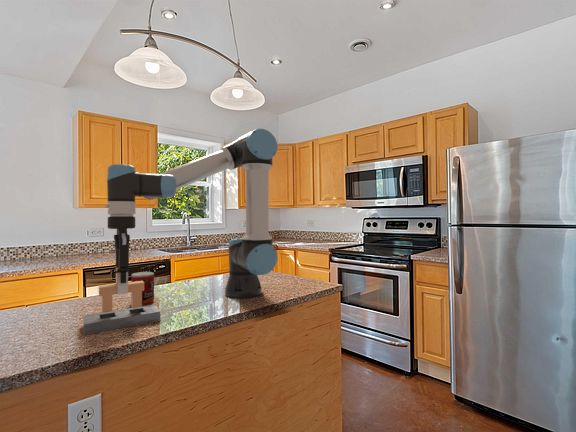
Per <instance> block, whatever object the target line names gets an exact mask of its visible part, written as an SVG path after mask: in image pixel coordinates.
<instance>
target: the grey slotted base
mask: <svg viewBox="0 0 576 432" xmlns="http://www.w3.org/2000/svg"><path fill="white" fill-rule="evenodd" d="M157 322H161V310H160V309H159V308H158V307H157V306H156V304H154V303H153V304H150V305H149V304H147V305H142V307H138V308H132V307H129V308H124V309H118V310H112V312H106V313H102V312H98V313H91V314H85V315H83V336H86V335H93V334H98V333H103V332H107V331H113V330H119V329H123V328H130V327H134V326H141V325H145V324H151V323H157Z"/></svg>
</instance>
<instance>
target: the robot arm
mask: <svg viewBox="0 0 576 432" xmlns="http://www.w3.org/2000/svg"><path fill="white" fill-rule="evenodd" d="M278 145H279V144H278V140H277V139H276V137H275V136H274V135H273V133H272V132H271V131H269V130H268V129H265V128H257V129H256V128H255V129H252V130H250V131H249V132H248V133H246V134H244V135H242V136H240V137H239V138H237V139H235V140H234V141H233V142H231V143H229V144H228V145H225V146H223V147H221V148H220V150H218V151H216V152H214V153H212V154H208V155H206V156H203V157H200V158H197V159H196V160H192V161H189V162H187V163H185V164H181V165H179V166H176V167H173V168H171V169H168V170H166V171H163V172H160V173H144V172H143V173H142V172H138V171H137V172H136V168H135V166H134V165H131V164H123V163H120V164H119V163H117V164H116V163H115V164H110V165H108V167H107V180H106V183H107V184H106V185H107V186H106V187H107V188H106V189H107V190H106V191H107V192H106V193H107V204H104V205H105V208H107V215H109V216H108V217H107V228H108V229H109V230H116V234H113V240H114V248H115V263H114V264H115V265H114V266H115V268H116V267H118V271H116V270H115V274H116V273H118V294H117V295H124V294H129V293H128V282H129V271H130V267H129V266H130V256H129V255H130V239H131V238H130V237H131V236H130V234H128V230H129V229H135V228H136V217H135V216H134V215H136V197H138V198H139V197H140V198H141V197H143V198H144V199H146V200H149V201H150V200H151V201H153V200H155V199H158V198H164V199H167V198H173V197H175V195H176V192H177V190H178V189H182V188H185V187H186V186H189V185H192V184H193V183H196V182H198V181H201V180H204V179H206V178H208V177H211V176H214V175H216V174H218V173H220V172H223V171H226V170H230V171H232V170H235V169H238V168H241V167H242V168H243V169H244V171H245V234H244V235H243V236H242V237H241V238H233V239H230V240H229V243H228V268H229V269H228V271H229V272H228V278H227V281H226V285H225V287H224V294H225V296H226V297H229V298H235V299H245V298H246V299H247V298H253V297H258V296H260V295H261V294H262V293H263V292H262V290H263V289H262V288H263V287H262V285H261V282H260V279H259V278H260V277H258V276H265V275H267V274H269V273H271V272H272V271H273V270H274V269H275V267H276V266H277V264H278V258H279V257H278V256H279V255H278V252H277V250H276V248H275V247H274V246H273V242H274V241H273V237H272V236H271V235H270V233H269V231H270V230H269V222H270V221H269V217H270V216H269V205H270V204H269V203H270V202H269V201H270V200H269V171H270V170H271V169H272V168H273V158H274V157H275V156H276V154H277V152H278V149H279V148H278Z"/></svg>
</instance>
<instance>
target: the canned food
mask: <svg viewBox="0 0 576 432" xmlns="http://www.w3.org/2000/svg"><path fill="white" fill-rule="evenodd" d="M130 277H131V279H130V282H135V281H143V282H144V291H142V306H148V305H149V304H150V305H151V304H152V303H154V301H155V273H154V272H152V271H140V272H133V273H131V276H130Z"/></svg>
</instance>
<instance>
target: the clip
mask: <svg viewBox="0 0 576 432" xmlns="http://www.w3.org/2000/svg"><path fill="white" fill-rule="evenodd" d="M116 271H118V267H116V266H115V283H109V284H108V283H107V284H100V285H98V295H99V296H98V297H101V313H106V312H112V311H113V295H119V294H118V273H116ZM142 291H144V282H143V281H135V282H131V281H128V293H127V294H129V293H130V294H131V295H130V299H131V300H130V301H131V302H130V306H131V308H138V307H142V306H143V305H142Z"/></svg>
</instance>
